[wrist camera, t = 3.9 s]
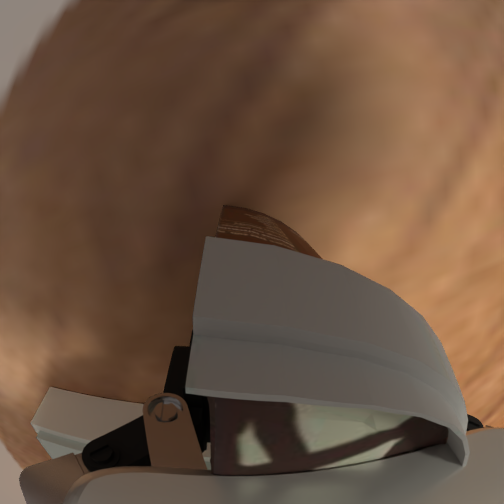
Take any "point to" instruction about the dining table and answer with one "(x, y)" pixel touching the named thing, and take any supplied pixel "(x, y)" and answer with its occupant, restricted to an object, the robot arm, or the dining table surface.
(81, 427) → the pedestal
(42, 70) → the dining table surface
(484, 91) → the dining table surface
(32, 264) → the dining table surface
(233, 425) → the food container
